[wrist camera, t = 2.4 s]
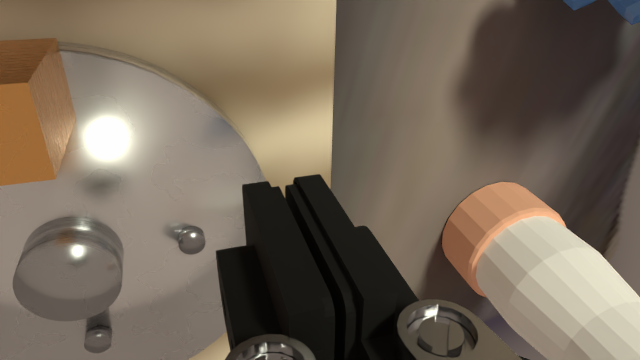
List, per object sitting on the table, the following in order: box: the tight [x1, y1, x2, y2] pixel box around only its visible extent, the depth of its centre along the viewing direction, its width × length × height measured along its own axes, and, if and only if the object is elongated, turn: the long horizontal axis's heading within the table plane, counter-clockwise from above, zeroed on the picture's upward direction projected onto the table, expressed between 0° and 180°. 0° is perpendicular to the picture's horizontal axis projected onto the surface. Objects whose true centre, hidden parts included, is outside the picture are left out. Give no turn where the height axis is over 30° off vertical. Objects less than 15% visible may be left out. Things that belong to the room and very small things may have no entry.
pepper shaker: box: [442, 182, 640, 360], centre depth 27 cm, size 7×7×19 cm
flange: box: [0, 38, 266, 360], centre depth 20 cm, size 18×18×6 cm
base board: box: [0, 0, 336, 360], centre depth 22 cm, size 25×25×6 cm
